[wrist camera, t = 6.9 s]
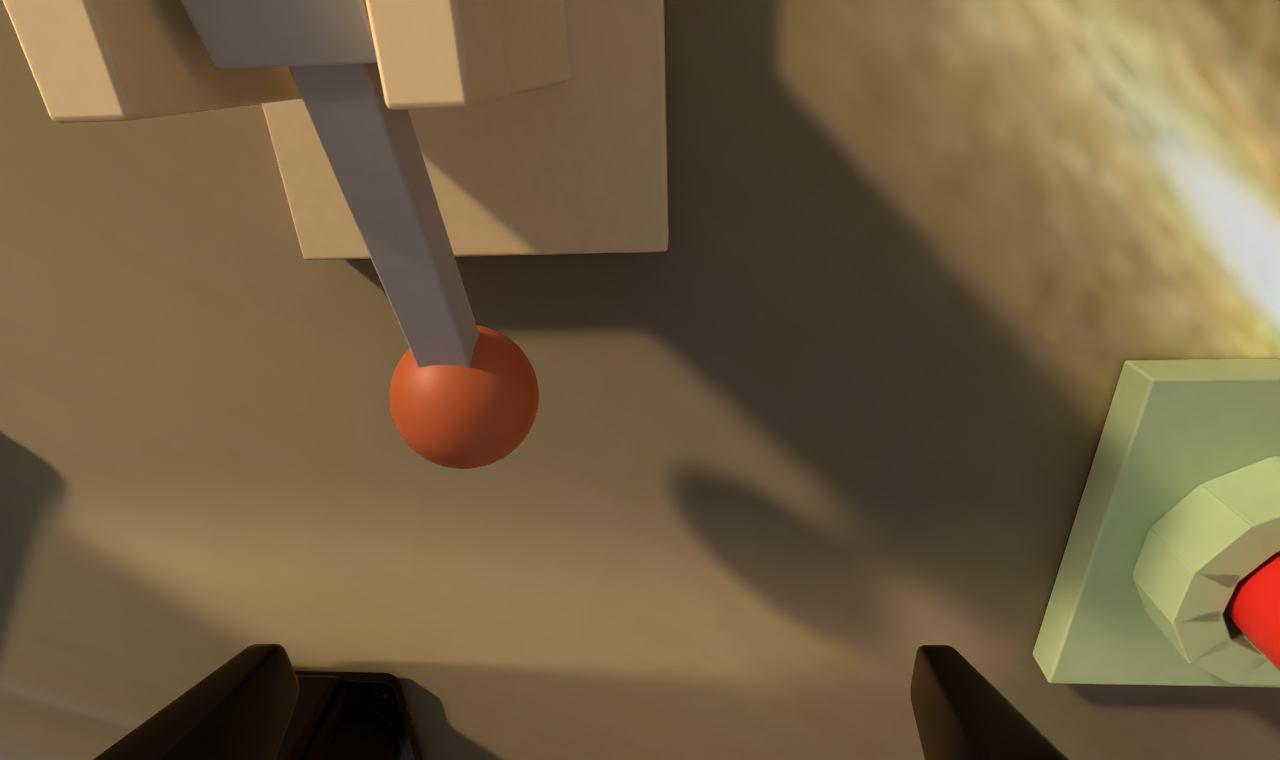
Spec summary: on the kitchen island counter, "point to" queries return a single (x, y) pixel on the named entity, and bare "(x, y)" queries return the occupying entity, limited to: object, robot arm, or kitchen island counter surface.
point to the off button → (1260, 607)
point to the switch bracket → (417, 111)
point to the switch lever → (389, 224)
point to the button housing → (1170, 530)
